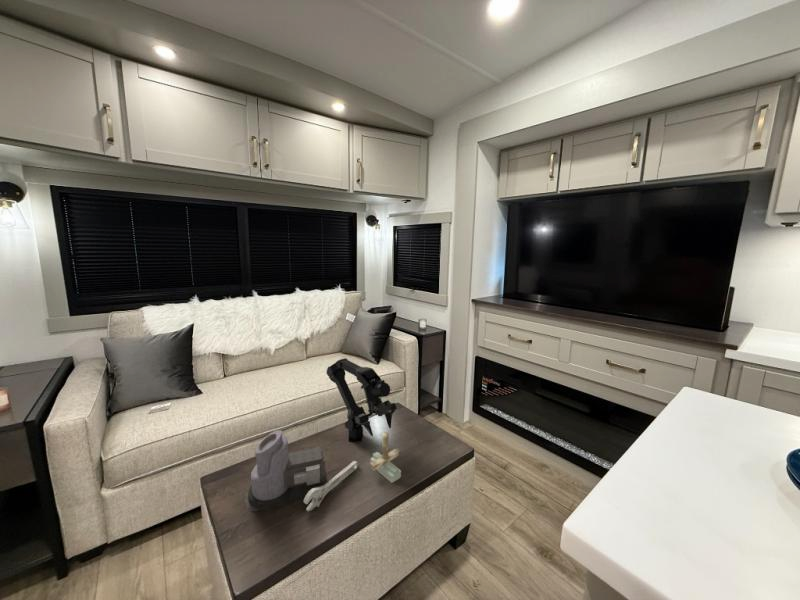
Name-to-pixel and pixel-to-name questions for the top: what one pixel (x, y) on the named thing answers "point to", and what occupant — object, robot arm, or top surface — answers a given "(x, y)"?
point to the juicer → (283, 473)
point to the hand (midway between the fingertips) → (381, 432)
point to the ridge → (387, 469)
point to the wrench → (327, 487)
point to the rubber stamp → (384, 454)
